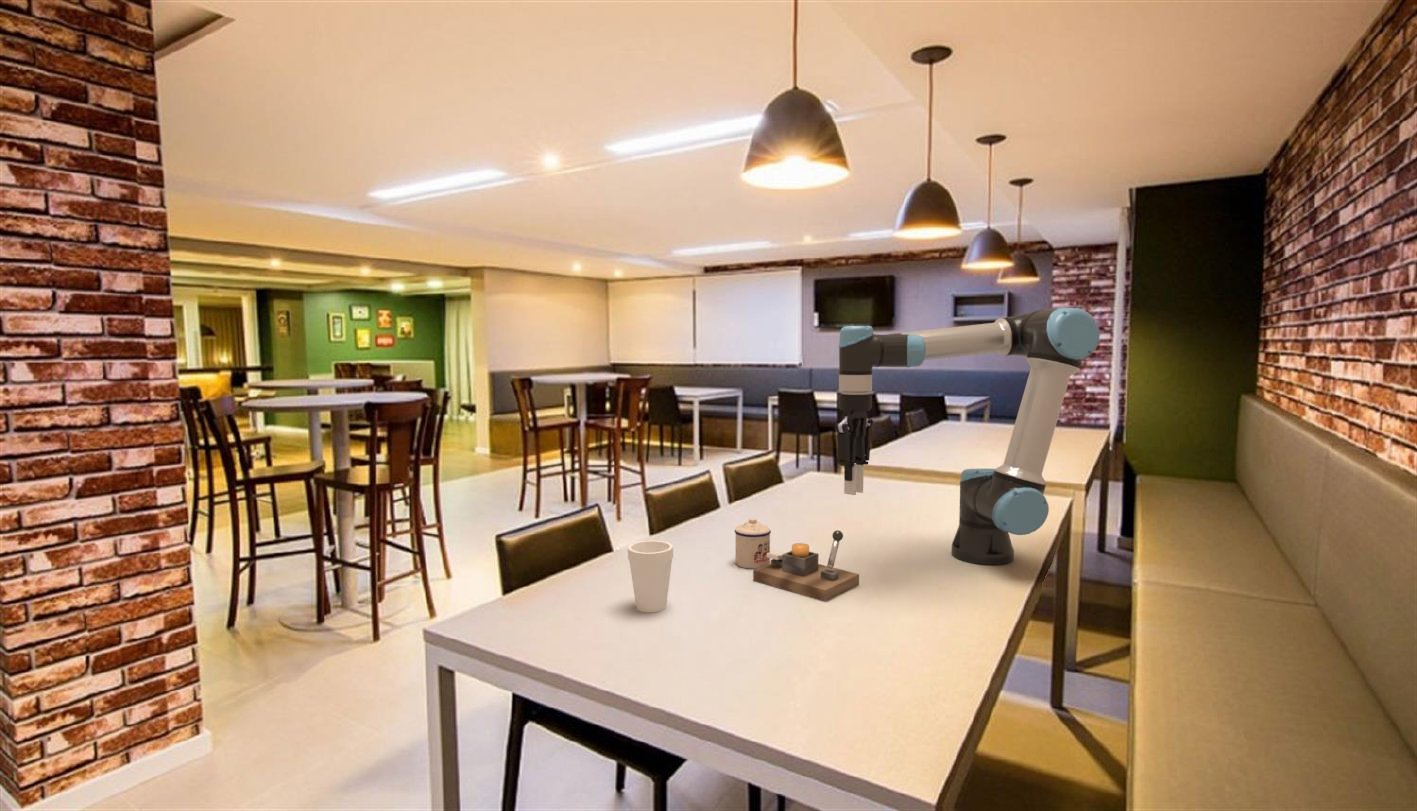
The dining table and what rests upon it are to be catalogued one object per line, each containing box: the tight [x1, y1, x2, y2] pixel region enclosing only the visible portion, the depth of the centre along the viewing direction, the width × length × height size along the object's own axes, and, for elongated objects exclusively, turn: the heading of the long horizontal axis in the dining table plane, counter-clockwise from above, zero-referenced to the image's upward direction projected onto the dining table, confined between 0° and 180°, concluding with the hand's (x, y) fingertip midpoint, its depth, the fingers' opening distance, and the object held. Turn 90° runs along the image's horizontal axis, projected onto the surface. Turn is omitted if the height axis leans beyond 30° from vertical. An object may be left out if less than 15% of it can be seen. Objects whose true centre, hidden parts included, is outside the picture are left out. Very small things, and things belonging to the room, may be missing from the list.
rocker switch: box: [766, 551, 787, 560], centre depth 165 cm, size 3×6×1 cm, turn 138°
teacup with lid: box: [734, 517, 772, 570], centre depth 175 cm, size 12×9×12 cm
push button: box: [791, 542, 810, 558], centre depth 161 cm, size 4×4×3 cm
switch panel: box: [752, 550, 860, 603], centre depth 160 cm, size 20×14×6 cm
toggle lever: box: [826, 530, 844, 569], centre depth 157 cm, size 2×2×9 cm
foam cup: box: [627, 540, 674, 614], centre depth 145 cm, size 10×9×13 cm
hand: (853, 492), depth 161 cm, fingers open, 3 cm apart
